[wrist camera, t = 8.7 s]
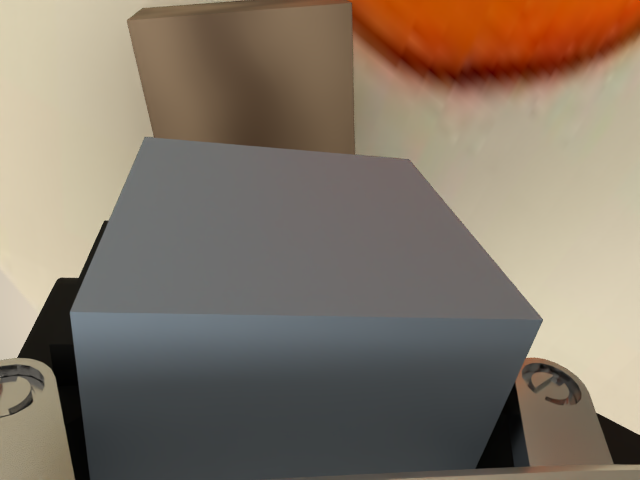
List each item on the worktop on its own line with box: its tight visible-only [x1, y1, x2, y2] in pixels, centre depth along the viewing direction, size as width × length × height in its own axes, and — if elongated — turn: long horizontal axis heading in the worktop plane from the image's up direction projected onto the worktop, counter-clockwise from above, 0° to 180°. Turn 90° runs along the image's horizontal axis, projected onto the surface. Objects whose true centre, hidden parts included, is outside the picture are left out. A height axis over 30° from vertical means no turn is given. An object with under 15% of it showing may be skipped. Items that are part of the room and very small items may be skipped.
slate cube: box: [70, 137, 543, 480], centre depth 10 cm, size 6×6×6 cm
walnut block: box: [127, 0, 355, 155], centre depth 24 cm, size 9×9×4 cm
